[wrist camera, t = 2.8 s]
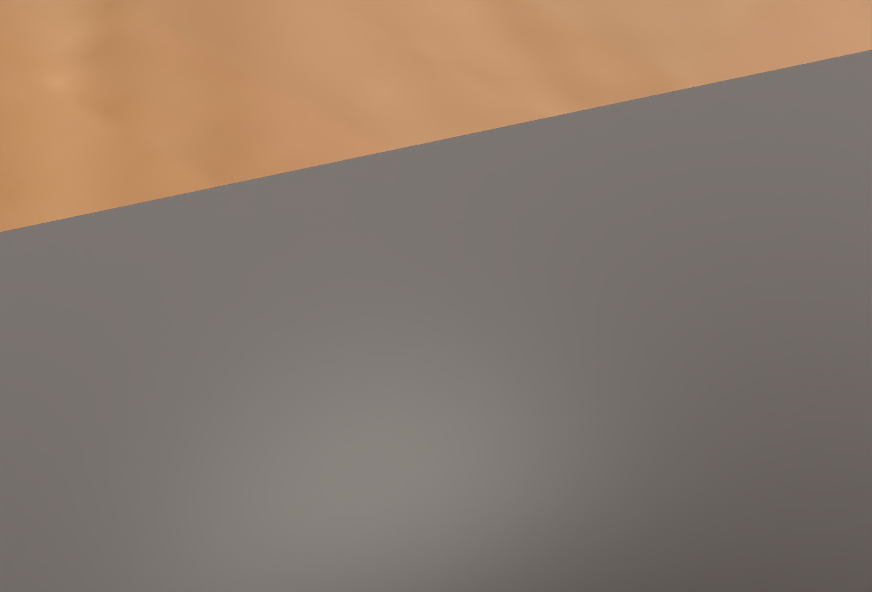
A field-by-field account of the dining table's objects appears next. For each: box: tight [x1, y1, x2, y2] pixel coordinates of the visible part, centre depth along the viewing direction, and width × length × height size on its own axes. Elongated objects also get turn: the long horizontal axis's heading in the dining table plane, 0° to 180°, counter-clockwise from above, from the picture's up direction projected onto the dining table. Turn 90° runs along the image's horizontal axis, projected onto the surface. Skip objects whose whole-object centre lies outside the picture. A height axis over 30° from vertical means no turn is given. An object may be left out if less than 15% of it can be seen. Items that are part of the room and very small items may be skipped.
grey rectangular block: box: [0, 50, 872, 592], centre depth 9 cm, size 4×4×12 cm
